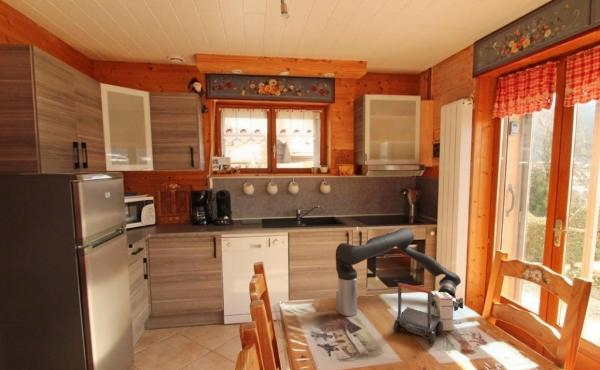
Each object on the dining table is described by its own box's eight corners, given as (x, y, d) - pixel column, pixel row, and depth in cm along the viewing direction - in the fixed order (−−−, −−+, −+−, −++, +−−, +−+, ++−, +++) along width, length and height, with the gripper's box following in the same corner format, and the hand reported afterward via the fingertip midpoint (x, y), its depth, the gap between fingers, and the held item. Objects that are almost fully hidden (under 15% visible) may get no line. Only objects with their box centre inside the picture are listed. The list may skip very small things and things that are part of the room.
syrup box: (453, 330, 126) (454, 297, 126) (439, 330, 127) (439, 297, 126) (447, 323, 132) (447, 292, 131) (434, 323, 132) (434, 291, 132)
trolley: (393, 333, 124) (393, 283, 123) (407, 320, 136) (407, 274, 135) (431, 347, 114) (432, 293, 113) (443, 331, 126) (443, 282, 125)
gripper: (430, 282, 145) (426, 294, 131) (464, 288, 137) (462, 301, 123) (430, 297, 145) (425, 311, 131) (463, 304, 138) (462, 319, 124)
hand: (443, 306), depth 127 cm, fingers open, 8 cm apart
